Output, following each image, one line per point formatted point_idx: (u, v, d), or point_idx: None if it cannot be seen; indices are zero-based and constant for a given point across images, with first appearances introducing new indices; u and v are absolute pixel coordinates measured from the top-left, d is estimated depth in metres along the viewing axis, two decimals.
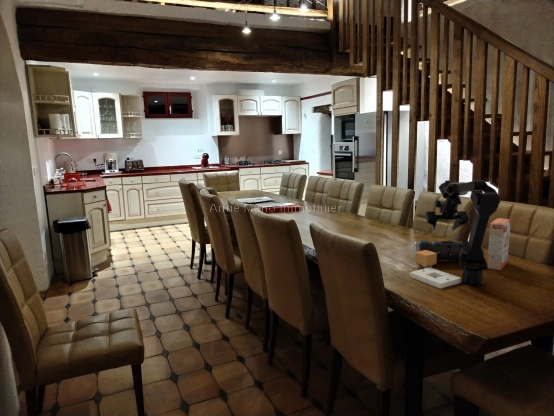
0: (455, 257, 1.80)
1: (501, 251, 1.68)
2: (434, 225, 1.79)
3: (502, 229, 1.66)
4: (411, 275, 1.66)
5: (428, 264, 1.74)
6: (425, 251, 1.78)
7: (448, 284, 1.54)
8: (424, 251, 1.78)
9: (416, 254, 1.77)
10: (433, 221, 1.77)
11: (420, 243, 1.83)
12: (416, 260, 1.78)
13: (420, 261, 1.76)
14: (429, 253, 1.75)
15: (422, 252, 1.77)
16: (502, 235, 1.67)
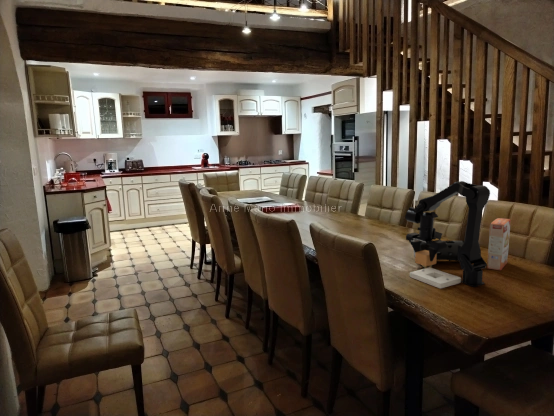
0: (455, 257, 1.80)
1: (501, 251, 1.68)
2: (412, 244, 1.80)
3: (502, 229, 1.66)
4: (411, 275, 1.66)
5: (428, 264, 1.74)
6: (425, 251, 1.78)
7: (448, 284, 1.54)
8: (424, 251, 1.78)
9: (416, 254, 1.78)
10: (408, 237, 1.80)
11: None
12: (416, 260, 1.78)
13: (420, 261, 1.76)
14: None
15: (422, 252, 1.77)
16: (502, 235, 1.67)
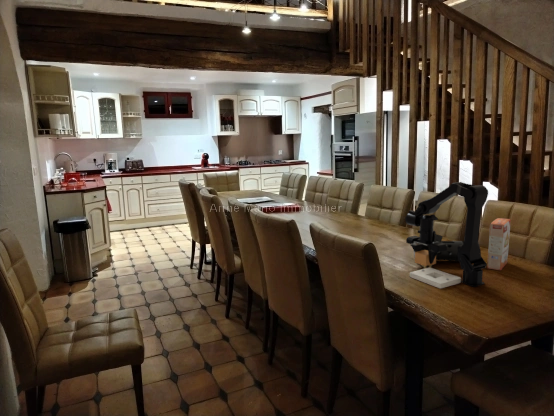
0: (455, 257, 1.80)
1: (501, 251, 1.68)
2: (413, 248, 1.79)
3: (502, 229, 1.66)
4: (411, 275, 1.66)
5: (427, 264, 1.74)
6: (425, 251, 1.79)
7: (448, 284, 1.54)
8: (424, 251, 1.79)
9: (416, 254, 1.78)
10: (409, 240, 1.81)
11: None
12: (416, 260, 1.78)
13: (419, 260, 1.76)
14: None
15: (422, 252, 1.77)
16: (502, 235, 1.67)
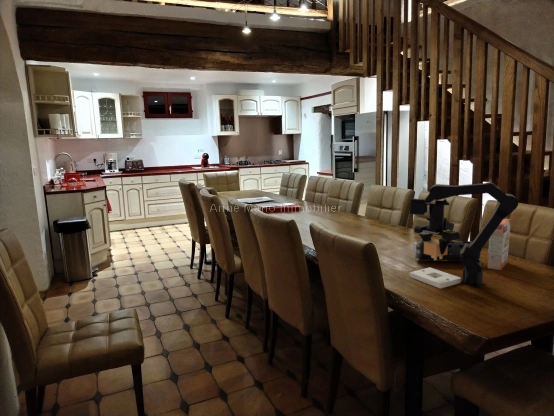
0: (455, 257, 1.80)
1: (501, 251, 1.68)
2: (422, 237, 1.62)
3: (502, 229, 1.66)
4: (411, 275, 1.66)
5: (438, 255, 1.57)
6: (435, 241, 1.61)
7: (448, 284, 1.54)
8: (434, 241, 1.61)
9: (425, 244, 1.61)
10: (417, 229, 1.64)
11: (420, 243, 1.84)
12: (425, 250, 1.61)
13: (429, 251, 1.59)
14: None
15: (431, 242, 1.60)
16: (502, 235, 1.67)
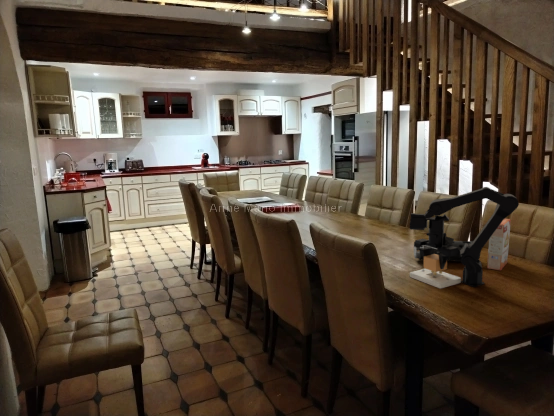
0: (455, 257, 1.80)
1: (501, 251, 1.68)
2: (422, 252, 1.63)
3: (502, 229, 1.66)
4: (411, 275, 1.66)
5: (438, 269, 1.58)
6: (434, 255, 1.62)
7: (448, 284, 1.54)
8: (433, 255, 1.62)
9: (424, 258, 1.62)
10: (417, 244, 1.65)
11: None
12: (424, 265, 1.62)
13: (429, 266, 1.60)
14: None
15: (431, 256, 1.61)
16: (502, 235, 1.67)
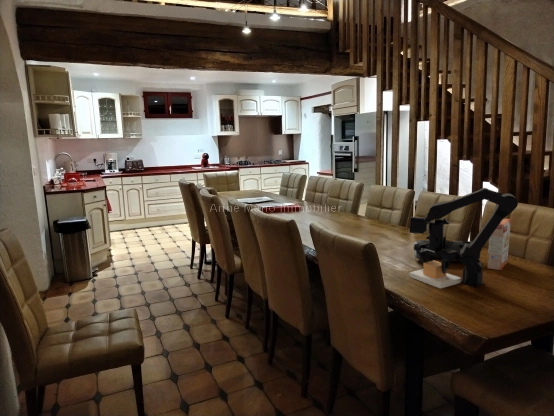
0: None
1: (501, 251, 1.68)
2: (420, 255, 1.65)
3: (502, 229, 1.66)
4: (411, 275, 1.66)
5: (437, 276, 1.58)
6: (434, 262, 1.63)
7: (448, 284, 1.54)
8: (433, 262, 1.63)
9: (424, 265, 1.62)
10: (417, 247, 1.65)
11: None
12: (424, 271, 1.63)
13: (428, 272, 1.61)
14: (438, 264, 1.60)
15: (431, 263, 1.62)
16: (502, 235, 1.67)
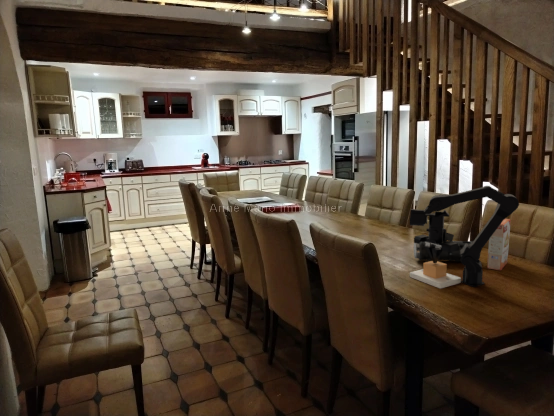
0: (455, 257, 1.80)
1: (501, 251, 1.68)
2: (428, 250, 1.60)
3: (502, 229, 1.66)
4: (411, 275, 1.66)
5: (437, 276, 1.58)
6: None
7: (448, 284, 1.54)
8: None
9: (424, 265, 1.62)
10: (417, 240, 1.64)
11: (420, 243, 1.84)
12: (424, 271, 1.63)
13: (428, 272, 1.61)
14: (438, 264, 1.60)
15: (431, 263, 1.62)
16: (502, 235, 1.67)
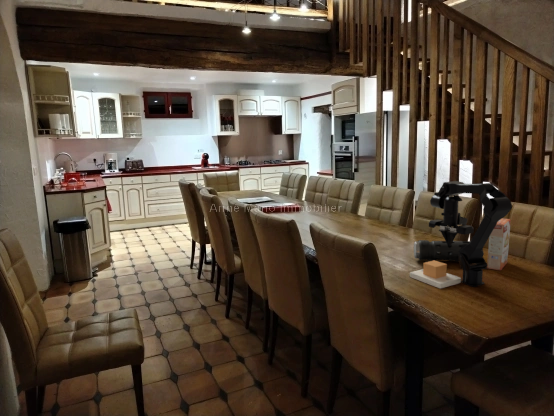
0: (455, 257, 1.80)
1: (501, 251, 1.68)
2: (443, 233, 1.67)
3: (502, 229, 1.66)
4: (411, 275, 1.66)
5: (437, 276, 1.58)
6: (434, 262, 1.63)
7: (448, 284, 1.54)
8: (433, 262, 1.63)
9: (424, 265, 1.62)
10: (432, 224, 1.71)
11: (420, 243, 1.84)
12: (424, 271, 1.63)
13: (428, 272, 1.61)
14: (438, 264, 1.60)
15: (431, 263, 1.62)
16: (502, 235, 1.67)
